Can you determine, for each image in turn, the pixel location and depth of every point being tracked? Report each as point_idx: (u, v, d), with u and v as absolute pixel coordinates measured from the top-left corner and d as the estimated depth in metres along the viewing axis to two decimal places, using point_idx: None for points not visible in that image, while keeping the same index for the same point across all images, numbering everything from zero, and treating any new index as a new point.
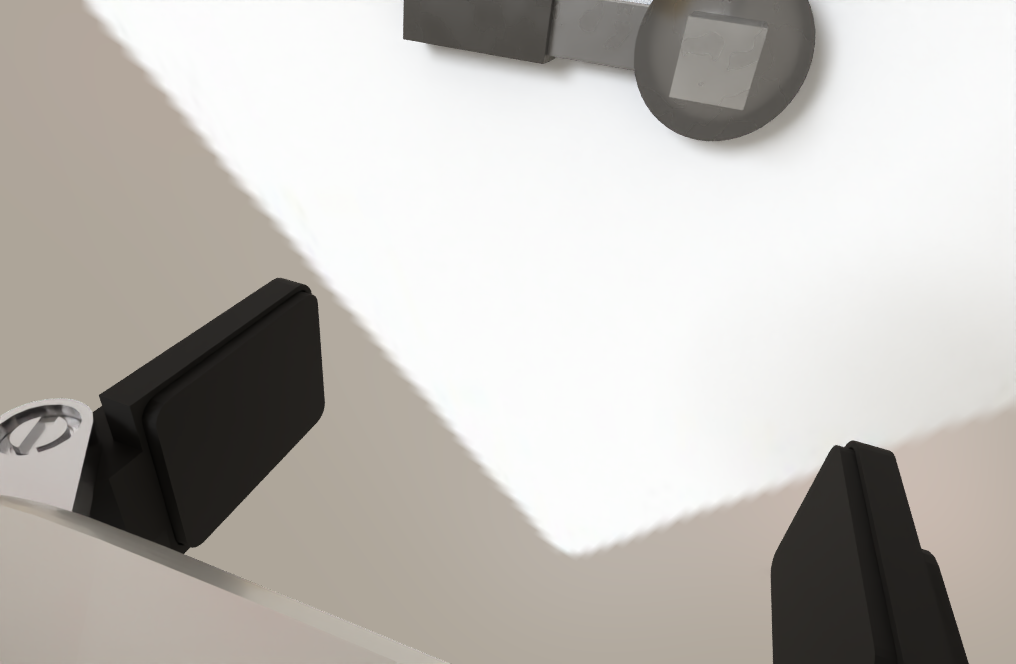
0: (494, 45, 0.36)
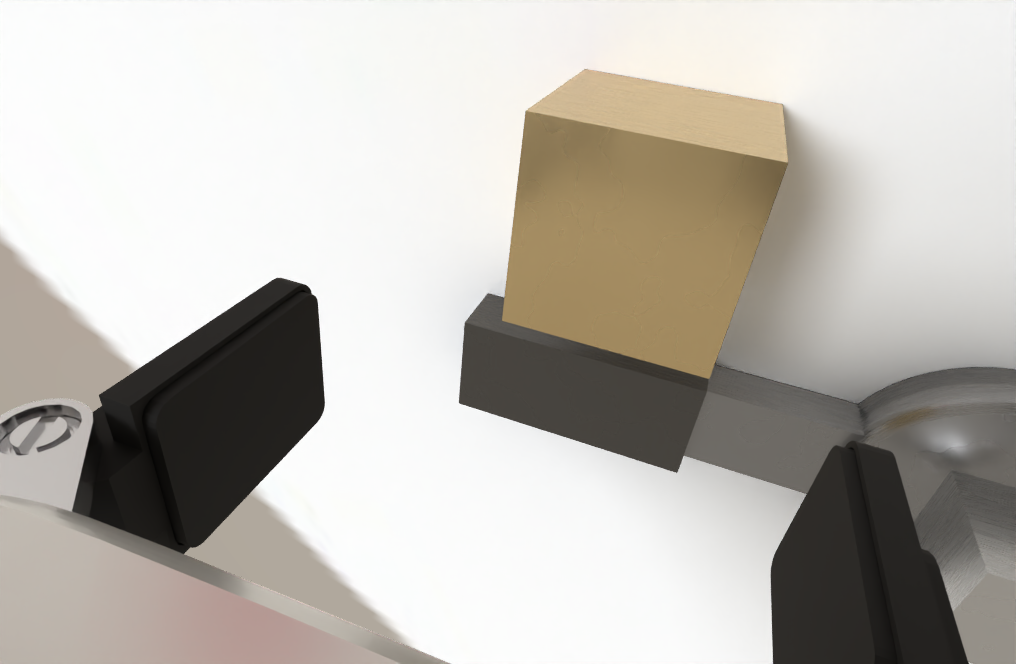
0: (600, 437, 0.24)
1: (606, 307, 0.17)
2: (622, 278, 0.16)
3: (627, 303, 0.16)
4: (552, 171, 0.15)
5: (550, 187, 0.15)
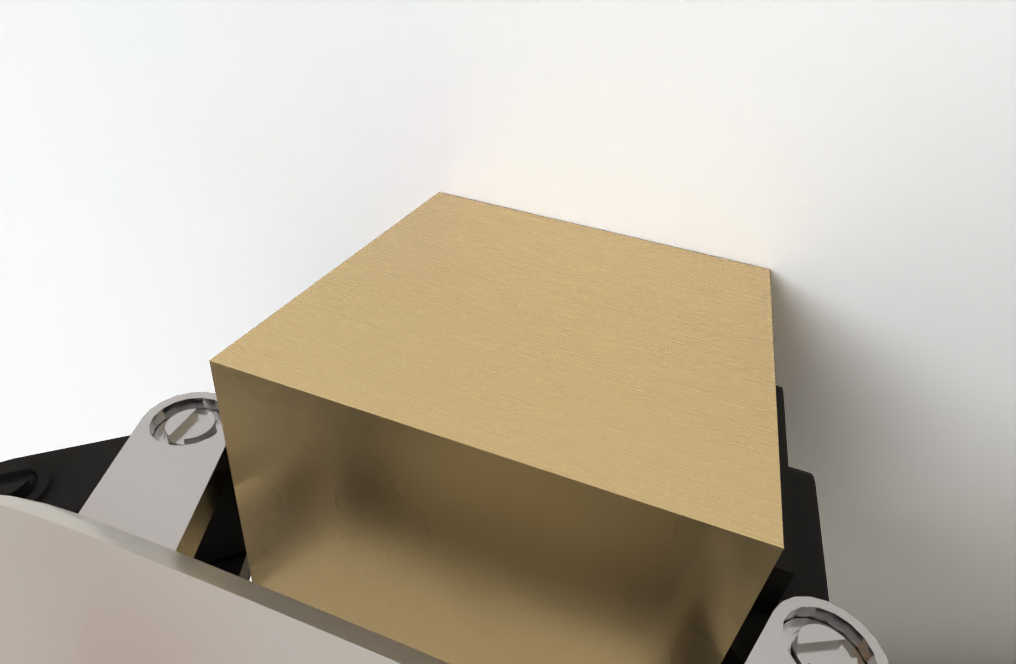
0: None
1: None
2: (454, 655, 0.08)
3: None
4: (287, 471, 0.07)
5: (291, 494, 0.07)
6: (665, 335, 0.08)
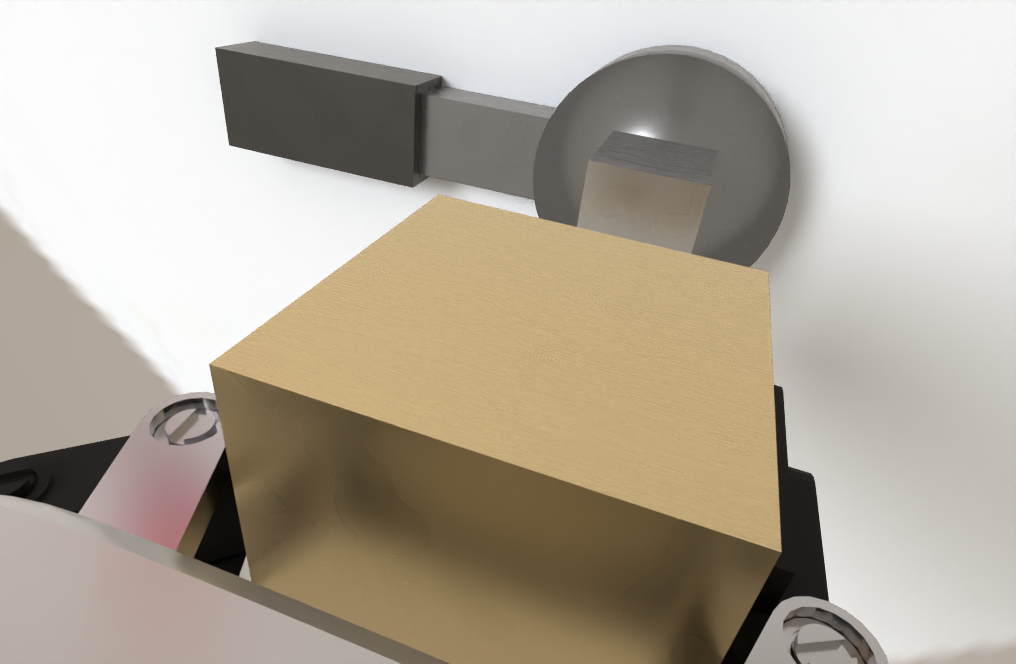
0: (346, 160, 0.26)
1: None
2: (453, 658, 0.08)
3: None
4: (287, 474, 0.07)
5: (291, 498, 0.07)
6: (664, 338, 0.08)
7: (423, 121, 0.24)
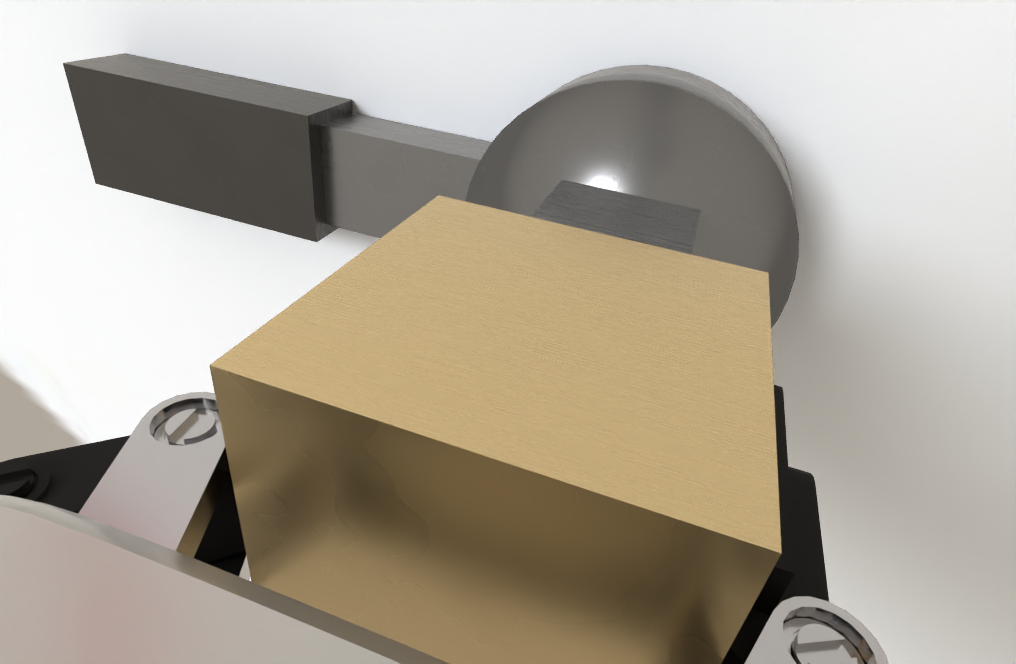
0: (233, 205, 0.20)
1: None
2: (454, 658, 0.08)
3: None
4: (287, 474, 0.07)
5: (291, 498, 0.07)
6: (664, 339, 0.08)
7: (325, 159, 0.19)
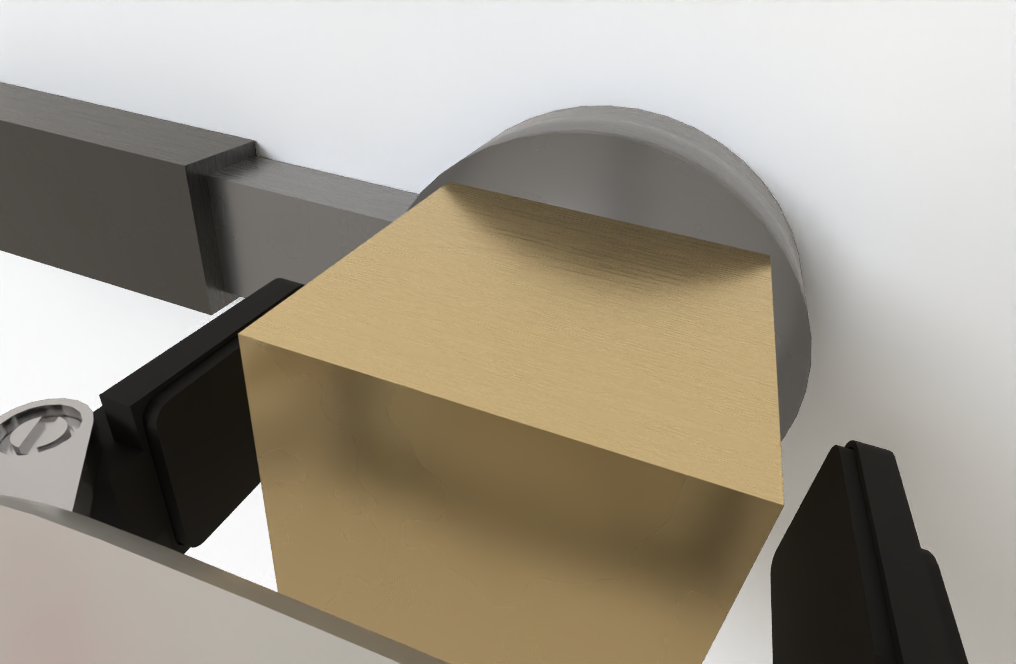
0: (112, 269, 0.17)
1: (447, 653, 0.09)
2: (468, 621, 0.08)
3: (482, 656, 0.09)
4: (310, 441, 0.08)
5: (313, 464, 0.08)
6: (670, 314, 0.08)
7: (215, 217, 0.15)
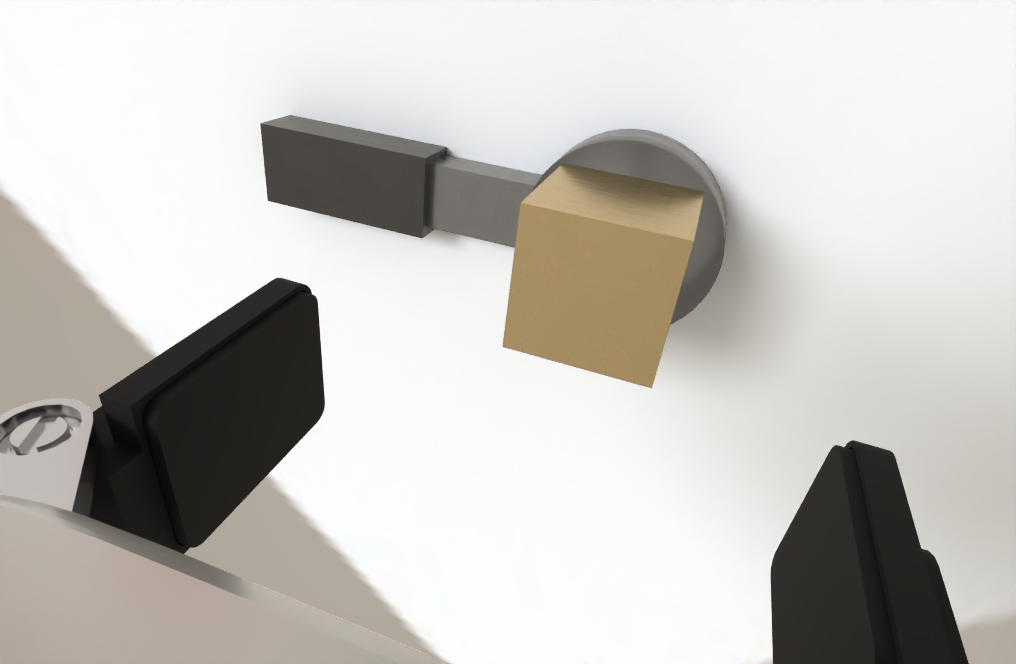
0: (366, 215, 0.31)
1: (577, 336, 0.23)
2: (588, 316, 0.23)
3: (592, 334, 0.23)
4: (539, 242, 0.22)
5: (537, 253, 0.22)
6: (662, 205, 0.23)
7: (431, 185, 0.30)
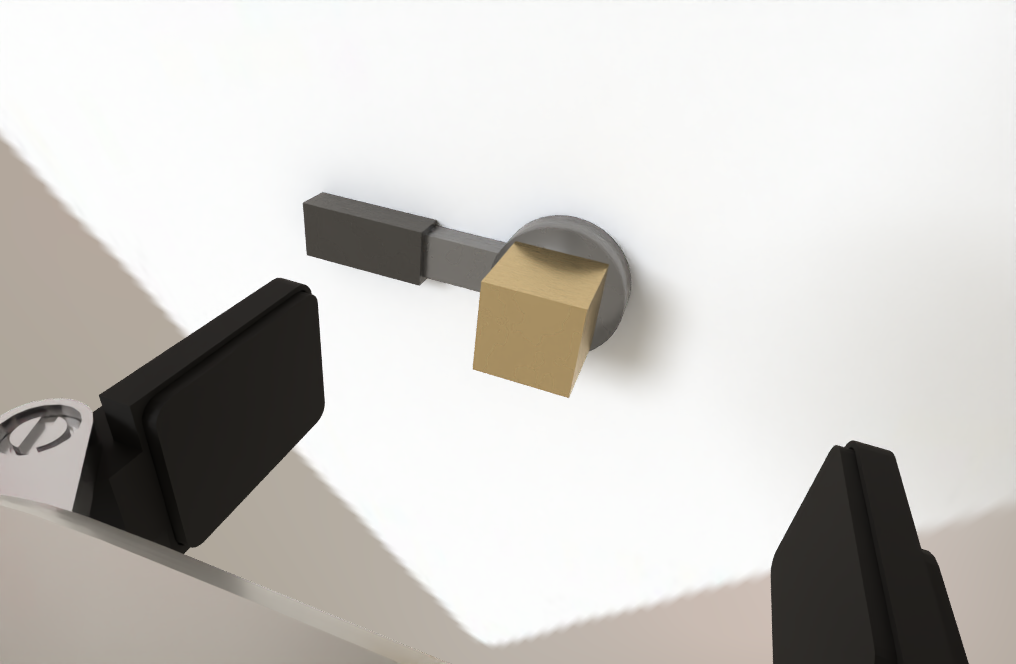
0: (379, 268, 0.43)
1: (520, 364, 0.36)
2: (526, 352, 0.35)
3: (529, 363, 0.35)
4: (493, 305, 0.34)
5: (493, 312, 0.34)
6: (575, 279, 0.35)
7: (425, 249, 0.42)
